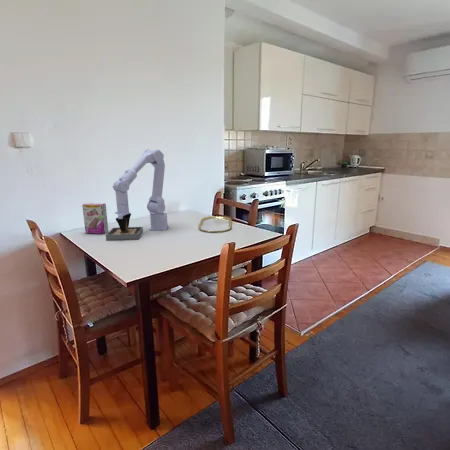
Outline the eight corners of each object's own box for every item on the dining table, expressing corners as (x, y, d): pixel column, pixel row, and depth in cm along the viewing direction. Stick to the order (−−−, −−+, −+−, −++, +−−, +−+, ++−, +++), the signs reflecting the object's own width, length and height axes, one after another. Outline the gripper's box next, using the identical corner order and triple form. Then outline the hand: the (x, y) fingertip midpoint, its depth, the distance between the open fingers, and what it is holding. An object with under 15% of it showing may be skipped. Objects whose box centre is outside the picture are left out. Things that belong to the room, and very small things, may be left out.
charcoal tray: (143, 232, 180) (142, 226, 179) (138, 239, 166) (137, 234, 166) (113, 232, 179) (112, 227, 178) (106, 240, 165) (105, 234, 165)
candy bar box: (85, 234, 177) (81, 204, 173) (89, 231, 182) (86, 202, 178) (104, 234, 176) (101, 204, 172) (109, 231, 181) (106, 202, 177)
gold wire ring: (231, 218, 211) (231, 216, 210) (231, 233, 177) (231, 231, 176) (202, 218, 211) (202, 216, 211) (196, 233, 177) (196, 231, 177)
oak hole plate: (136, 232, 178) (136, 228, 177) (133, 237, 168) (132, 234, 167) (118, 232, 177) (117, 229, 176) (113, 238, 167) (112, 234, 167)
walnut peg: (128, 234, 174) (127, 219, 172) (127, 236, 171) (126, 221, 169) (122, 234, 174) (121, 220, 172) (121, 236, 171) (120, 221, 169)
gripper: (118, 201, 175) (120, 225, 178) (110, 206, 161) (113, 233, 164) (131, 200, 175) (133, 225, 179) (125, 206, 161) (127, 232, 165)
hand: (124, 229), depth 172 cm, fingers open, 7 cm apart
